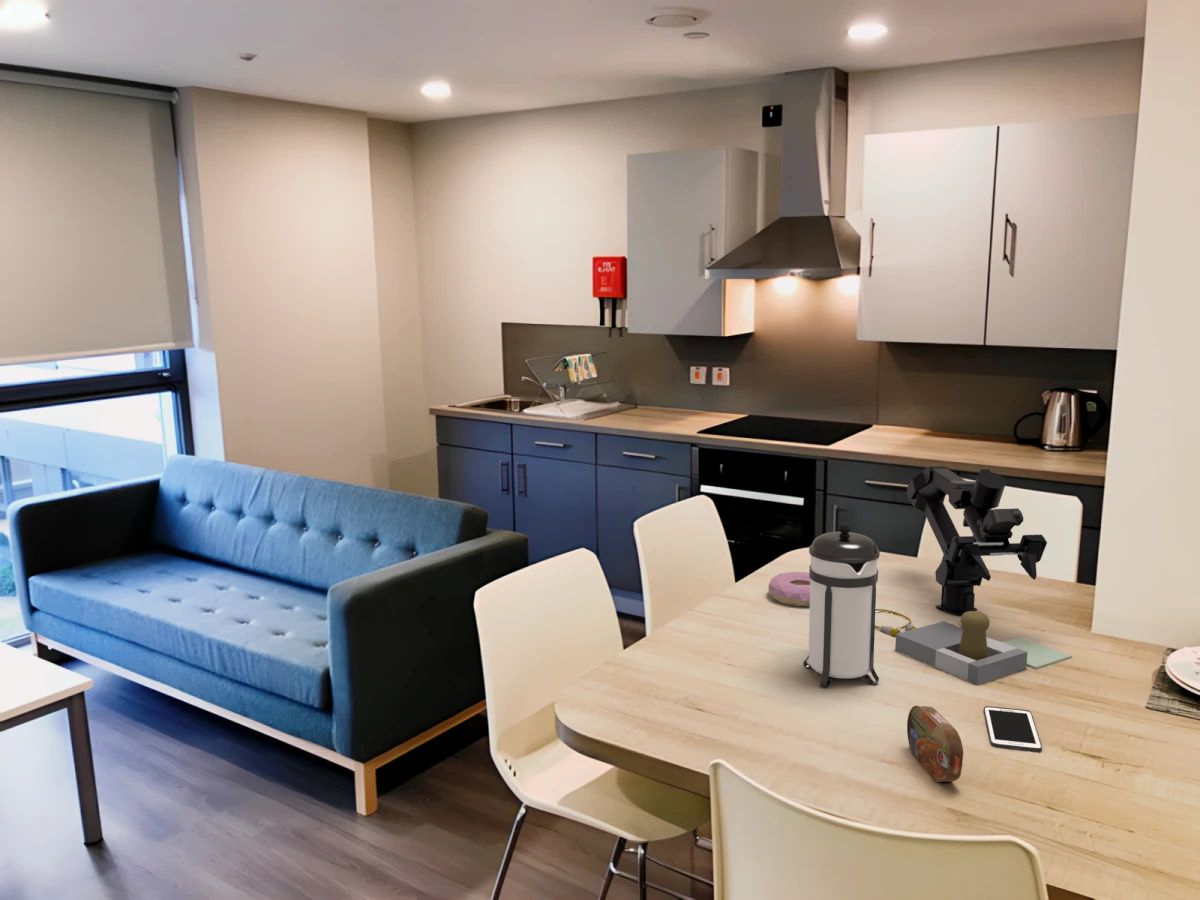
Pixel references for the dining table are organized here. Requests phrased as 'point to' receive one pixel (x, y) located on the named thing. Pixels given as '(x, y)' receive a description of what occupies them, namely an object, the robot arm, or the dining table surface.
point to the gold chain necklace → (891, 630)
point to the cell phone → (1012, 729)
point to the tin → (935, 743)
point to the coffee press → (842, 605)
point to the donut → (791, 588)
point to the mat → (1038, 653)
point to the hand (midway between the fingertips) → (1012, 578)
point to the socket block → (942, 652)
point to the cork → (974, 635)
